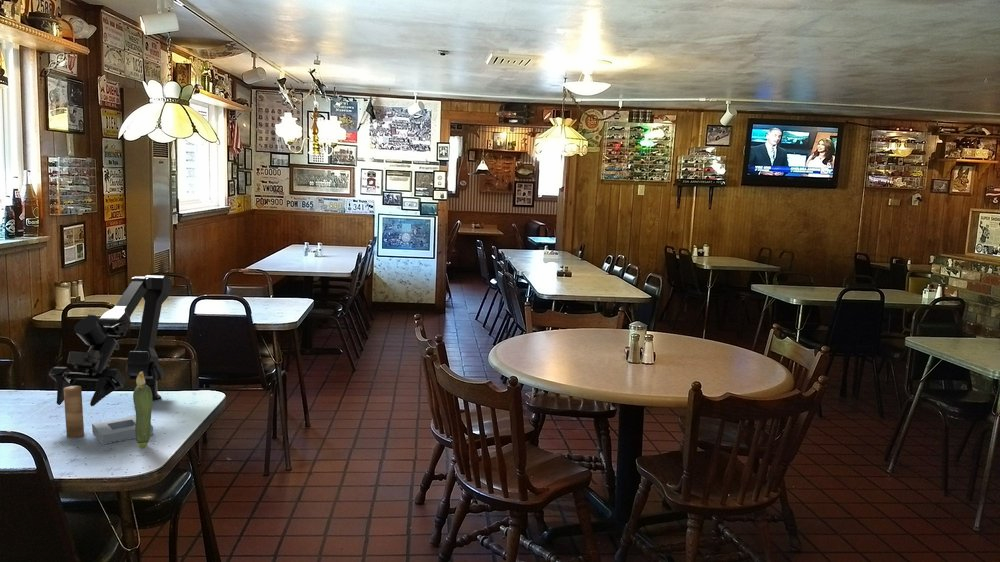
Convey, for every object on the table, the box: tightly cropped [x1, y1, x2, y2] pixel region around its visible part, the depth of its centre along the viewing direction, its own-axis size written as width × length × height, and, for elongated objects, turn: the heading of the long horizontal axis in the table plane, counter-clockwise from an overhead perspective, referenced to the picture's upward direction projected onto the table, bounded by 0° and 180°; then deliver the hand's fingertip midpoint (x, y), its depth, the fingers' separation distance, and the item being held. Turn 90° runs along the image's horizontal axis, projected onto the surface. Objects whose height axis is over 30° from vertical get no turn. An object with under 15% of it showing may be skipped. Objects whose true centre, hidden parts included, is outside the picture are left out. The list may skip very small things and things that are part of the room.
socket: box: [91, 414, 154, 445], centre depth 190 cm, size 12×12×2 cm
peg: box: [63, 385, 85, 439], centre depth 187 cm, size 4×4×13 cm
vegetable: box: [132, 371, 154, 449], centre depth 180 cm, size 4×4×20 cm
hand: (74, 404), depth 188 cm, fingers open, 9 cm apart
